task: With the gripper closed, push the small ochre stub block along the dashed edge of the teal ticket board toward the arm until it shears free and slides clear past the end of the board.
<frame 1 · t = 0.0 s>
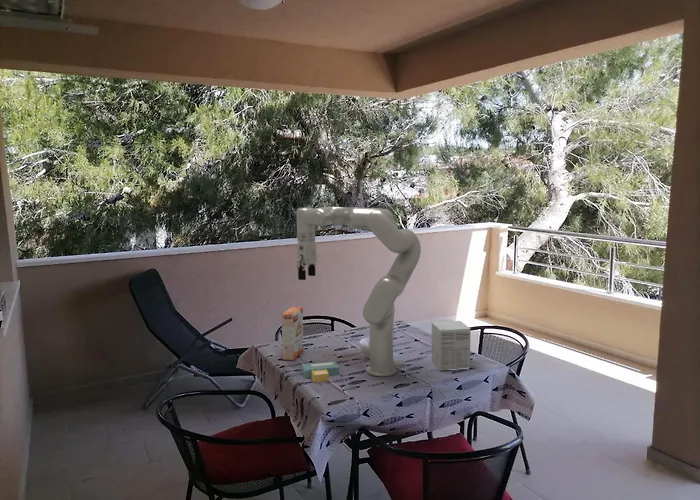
hand: (307, 277, 228), 37 cm above the table, tool pointing down, fingers open, 9 cm apart
cracker box: (293, 356, 242), on the table
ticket: (320, 373, 220), on the table
stub: (320, 375, 213), point 2 cm above the table, slide at 0.0 cm
supplement box: (450, 365, 228), on the table
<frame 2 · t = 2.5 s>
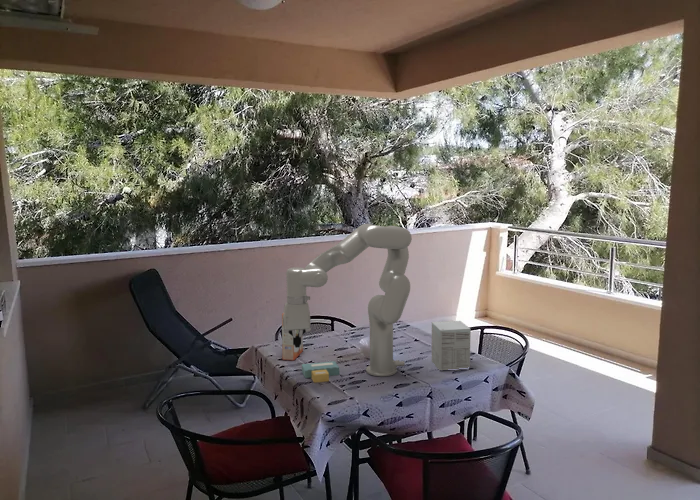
hand: (297, 346, 209), 14 cm above the table, tool pointing down, fingers closed
nothing on the table moved.
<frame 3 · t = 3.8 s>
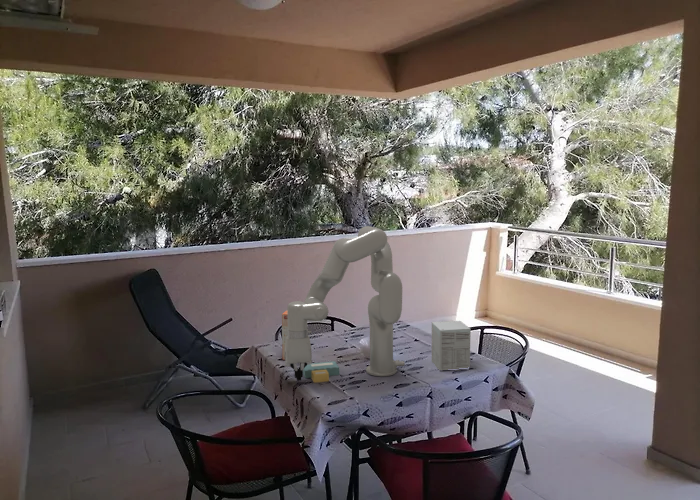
hand: (298, 379, 211), 1 cm above the table, tool pointing down, fingers closed
nothing on the table moved.
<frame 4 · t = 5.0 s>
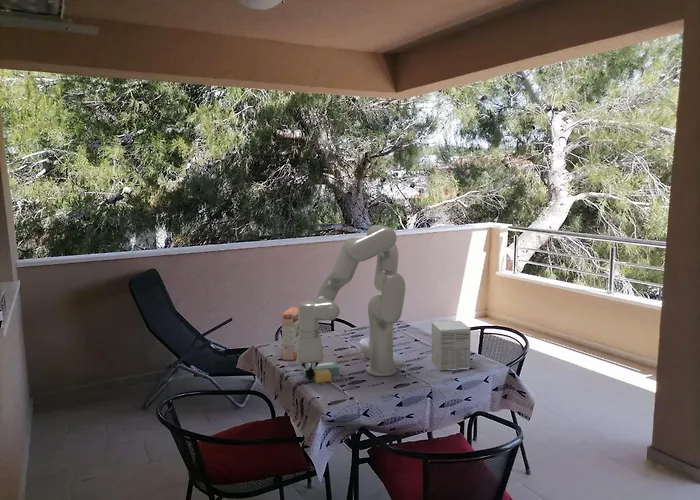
hand: (310, 378, 212), 1 cm above the table, tool pointing down, fingers closed
stub: (322, 375, 213), point 2 cm above the table, slide at 0.9 cm, touching gripper
everything else where it was.
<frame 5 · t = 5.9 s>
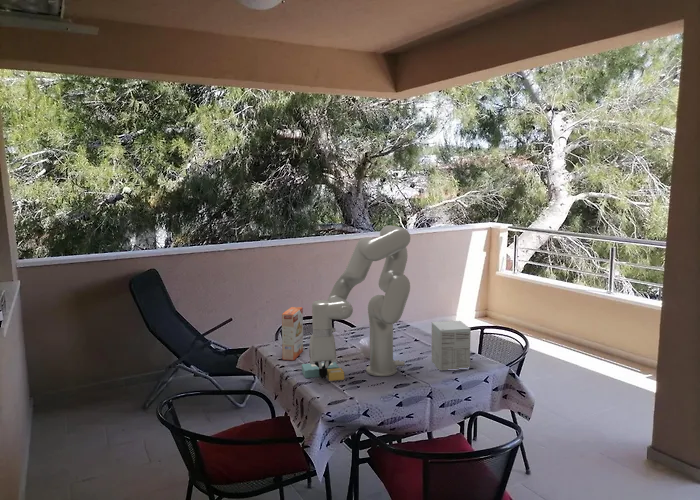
hand: (323, 377, 213), 1 cm above the table, tool pointing down, fingers closed
stub: (335, 374, 214), point 2 cm above the table, slide at 6.2 cm, touching gripper
everything else where it was.
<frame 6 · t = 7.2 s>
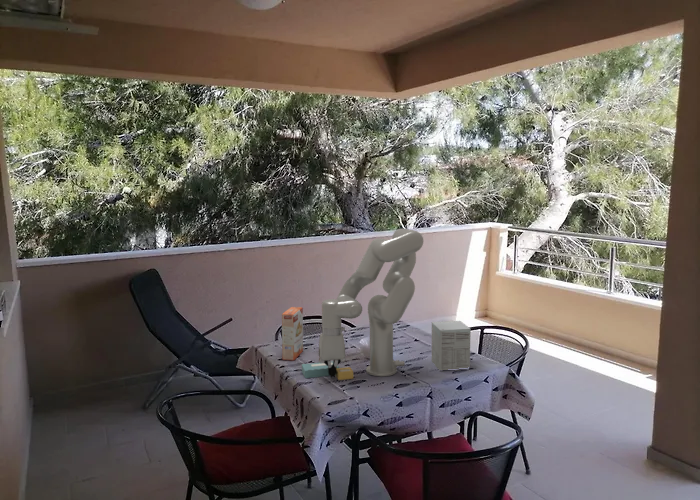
hand: (332, 376, 214), 1 cm above the table, tool pointing down, fingers closed
stub: (344, 373, 215), point 2 cm above the table, slide at 9.9 cm, touching gripper
everything else where it was.
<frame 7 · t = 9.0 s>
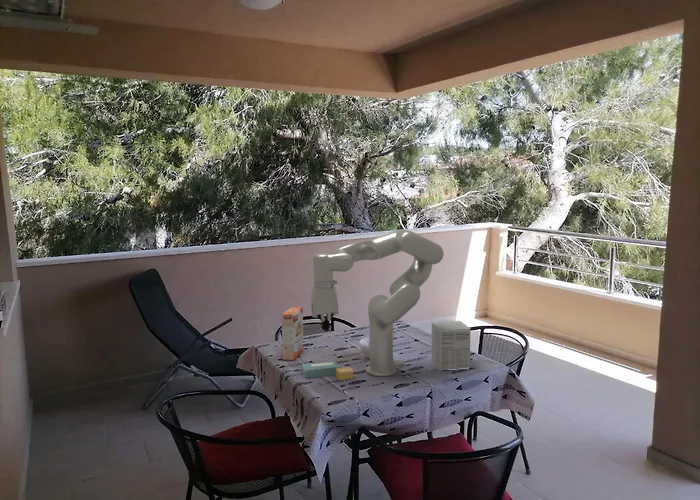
hand: (325, 330, 213), 19 cm above the table, tool pointing down, fingers closed
stub: (344, 373, 215), point 2 cm above the table, slide at 9.9 cm
everything else where it was.
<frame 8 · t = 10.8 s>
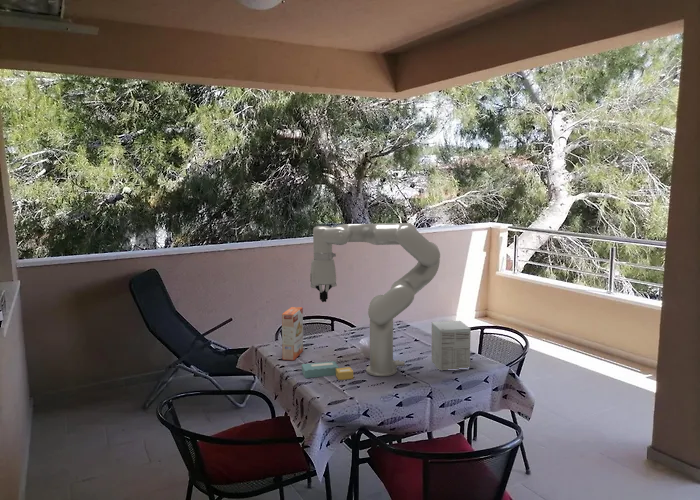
hand: (323, 301, 220), 29 cm above the table, tool pointing down, fingers closed
nothing on the table moved.
at the end: stub slide at 9.9 cm; the gripper is holding nothing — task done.
